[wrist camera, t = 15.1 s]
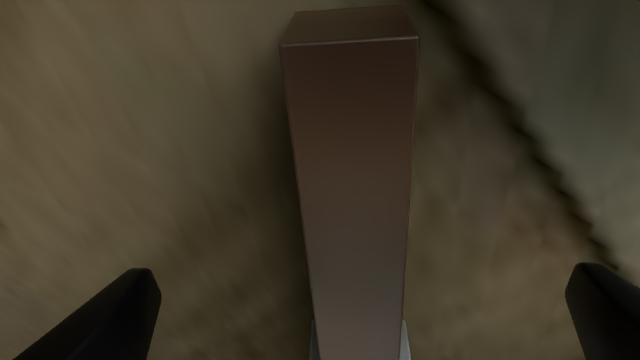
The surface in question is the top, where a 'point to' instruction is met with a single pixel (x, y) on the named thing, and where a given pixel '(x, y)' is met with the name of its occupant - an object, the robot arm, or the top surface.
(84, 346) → the robot arm
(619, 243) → the top surface
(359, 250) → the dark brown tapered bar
